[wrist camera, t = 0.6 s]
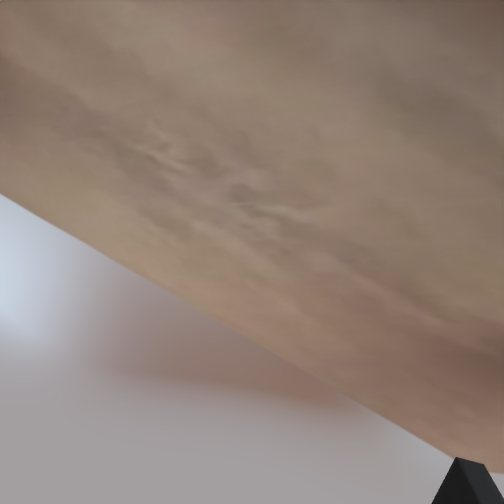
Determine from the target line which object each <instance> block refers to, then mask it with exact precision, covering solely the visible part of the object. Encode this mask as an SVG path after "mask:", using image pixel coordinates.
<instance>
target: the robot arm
mask: <svg viewBox="0 0 504 504" xmlns="http://www.w3.org/2000/svg"><path fill="white" fill-rule="evenodd" d="M432 504H504V498H503V497H502V495H501V493H500V492H499V490H498V488H497V486H496V485H495V483H494V481H493V480H492V478H491V476H490V474H489V473H488V471H487V469H486V467H485V466H484V464H481V463H477V462H473V461H469V460H465V459H462V458H458V457H456V458H455V460H454V462H453V464H452V465H451V467H450V469H449V471H448V473H447V475H446V477H445V479H444V481H443V483H442V484H441V486H440V488H439V490H438V492H437V494H436V496H435V498H434V500H433V502H432Z"/></svg>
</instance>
